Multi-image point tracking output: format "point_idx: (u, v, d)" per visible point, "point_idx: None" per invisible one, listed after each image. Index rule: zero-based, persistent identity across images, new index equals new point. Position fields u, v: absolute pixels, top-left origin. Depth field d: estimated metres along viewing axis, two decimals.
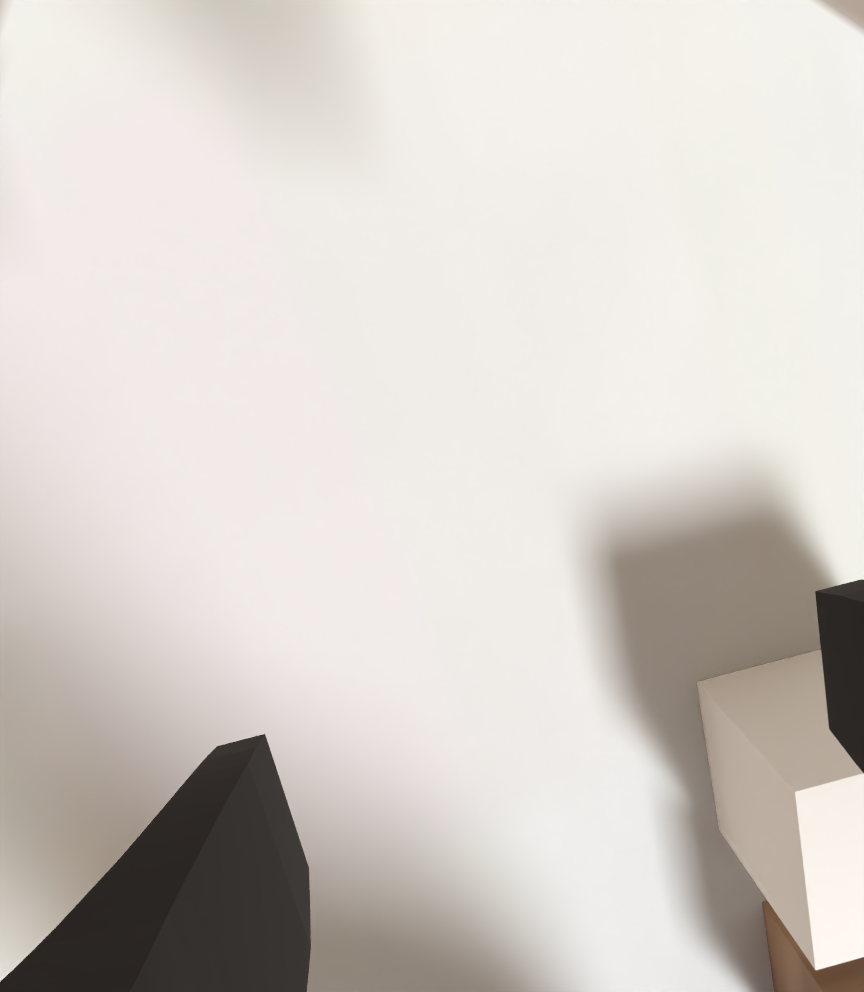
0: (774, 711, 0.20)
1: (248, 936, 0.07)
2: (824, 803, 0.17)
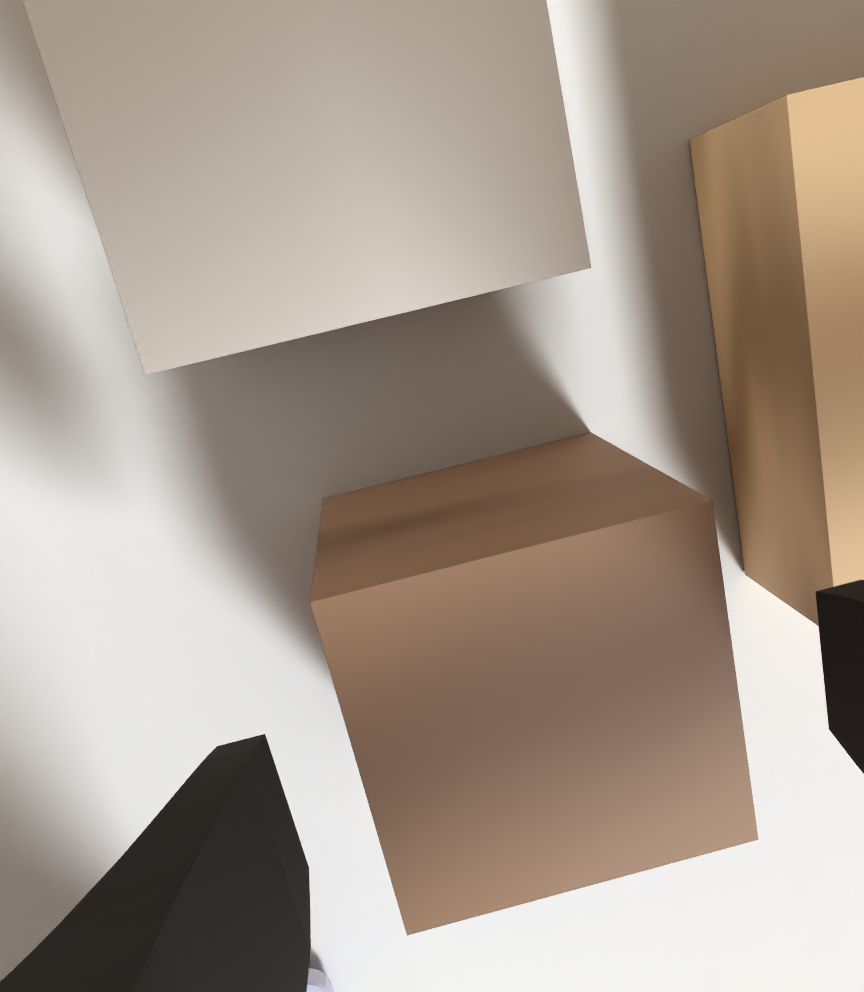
0: None
1: (248, 936, 0.07)
2: None
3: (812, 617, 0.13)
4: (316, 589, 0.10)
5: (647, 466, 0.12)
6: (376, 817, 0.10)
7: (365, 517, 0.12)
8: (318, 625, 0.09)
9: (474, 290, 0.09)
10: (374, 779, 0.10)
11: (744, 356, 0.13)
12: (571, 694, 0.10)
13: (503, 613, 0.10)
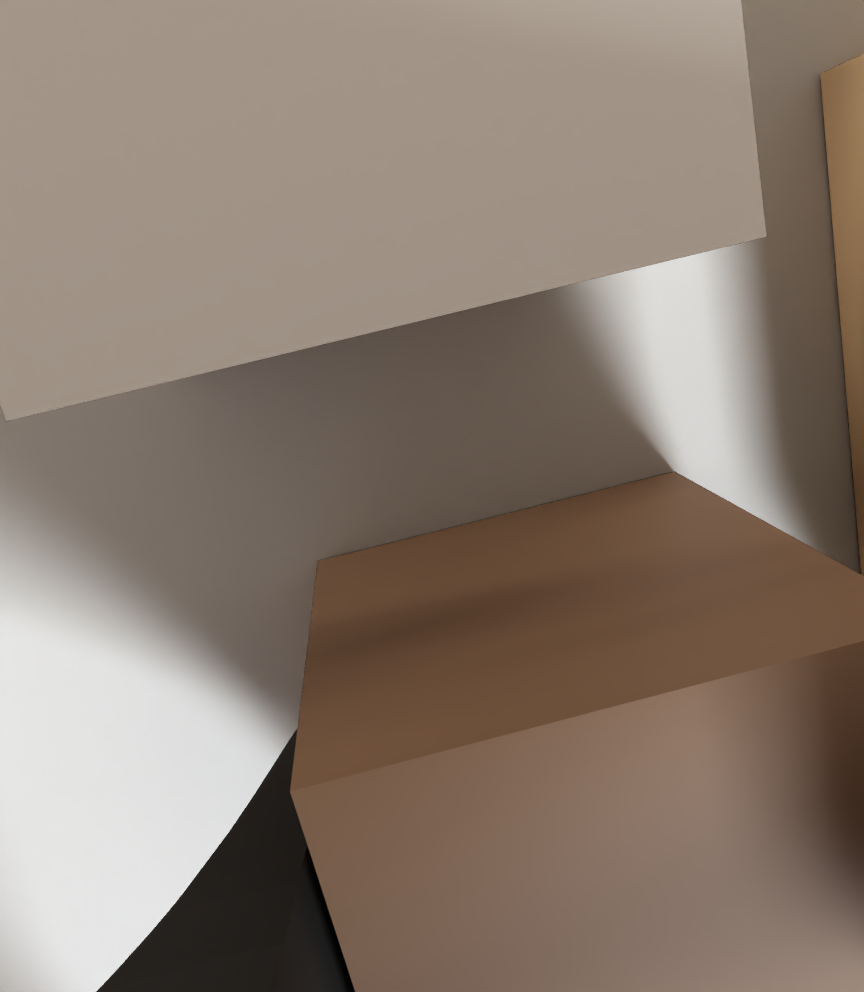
0: None
1: None
2: None
3: None
4: (302, 757, 0.06)
5: (788, 537, 0.08)
6: None
7: (375, 604, 0.09)
8: (304, 826, 0.06)
9: (570, 275, 0.05)
10: None
11: None
12: (702, 915, 0.06)
13: (603, 800, 0.06)
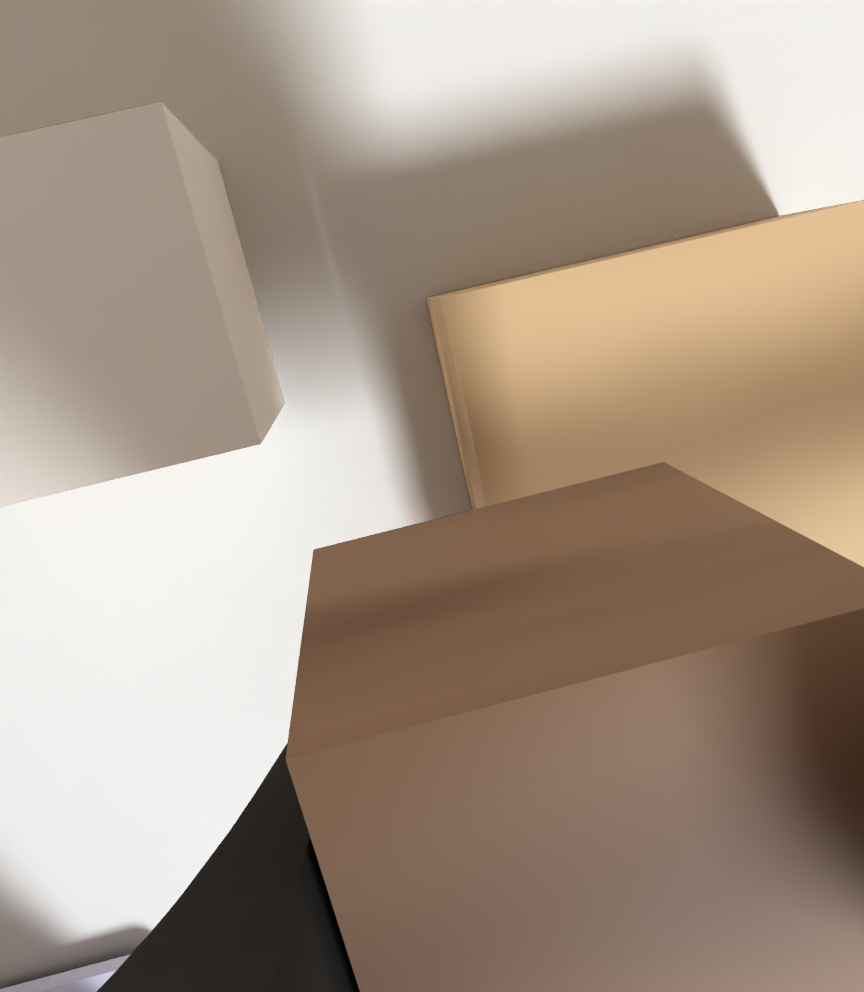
0: None
1: None
2: None
3: None
4: (296, 729, 0.06)
5: (771, 520, 0.08)
6: None
7: (369, 589, 0.09)
8: (299, 794, 0.06)
9: (176, 460, 0.12)
10: None
11: (467, 468, 0.17)
12: (686, 883, 0.06)
13: (588, 768, 0.06)
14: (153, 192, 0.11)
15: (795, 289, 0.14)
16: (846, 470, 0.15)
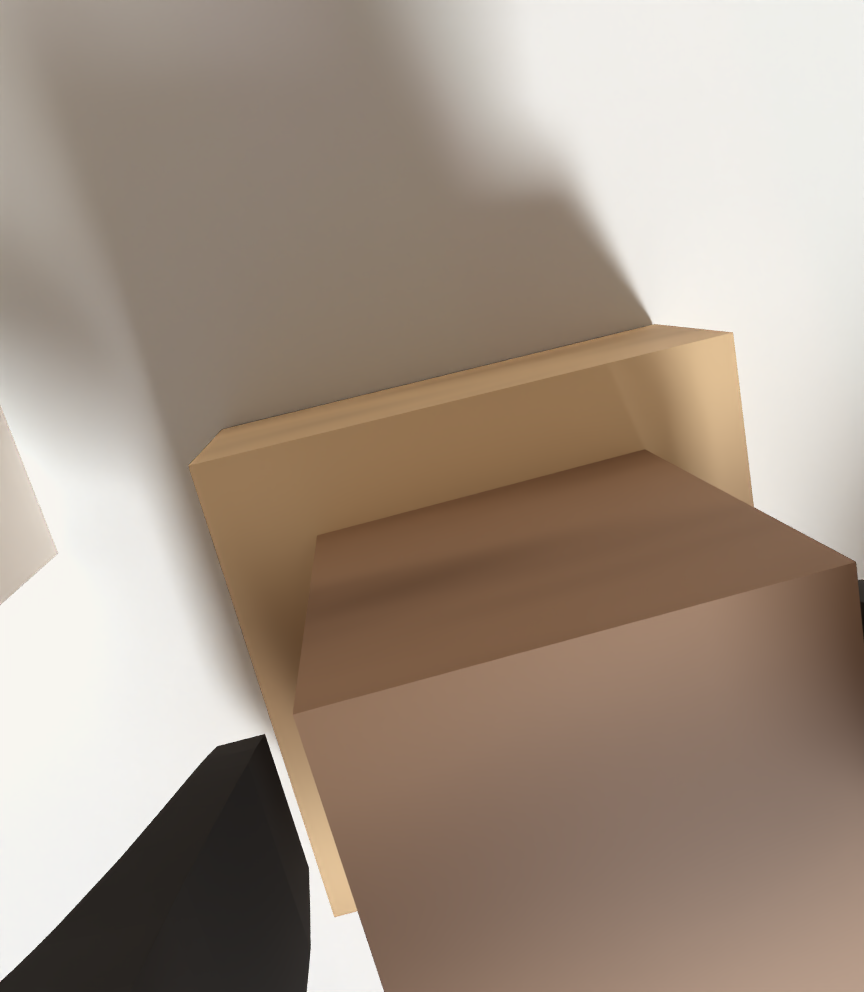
0: None
1: (248, 935, 0.07)
2: None
3: None
4: (302, 689, 0.07)
5: (737, 501, 0.09)
6: None
7: (369, 568, 0.09)
8: (305, 745, 0.07)
9: None
10: (386, 945, 0.07)
11: None
12: (654, 825, 0.07)
13: (564, 722, 0.07)
14: None
15: (642, 442, 0.12)
16: None
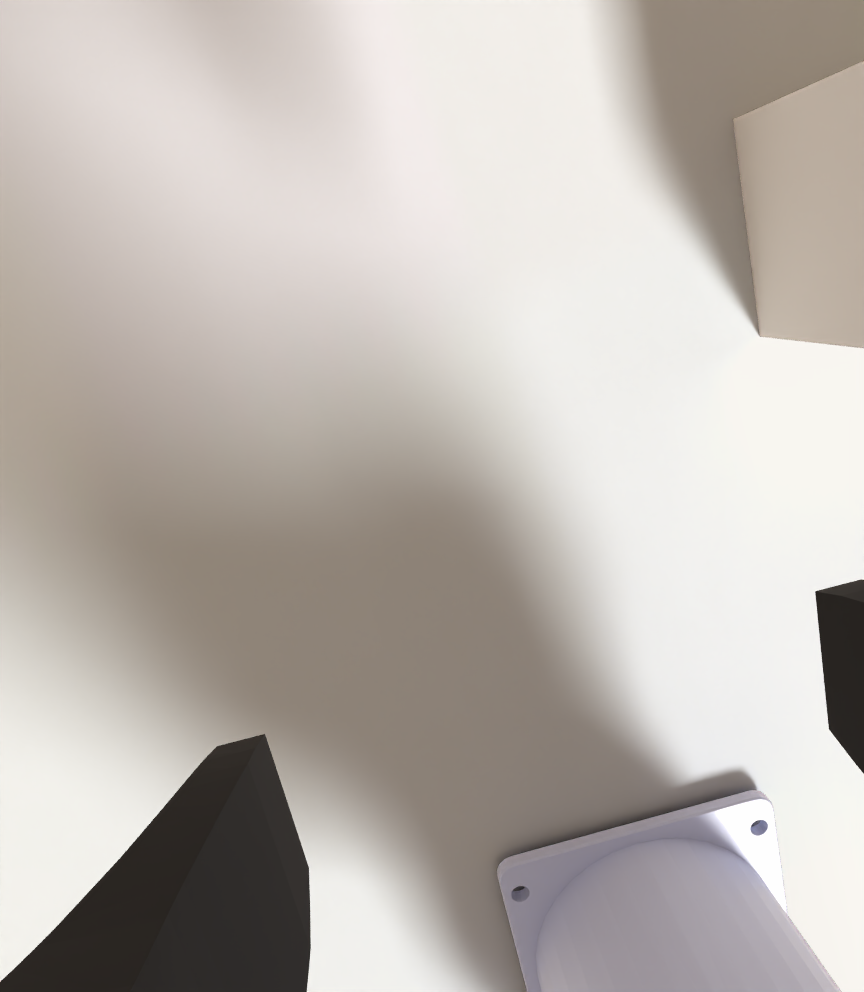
0: None
1: (248, 935, 0.07)
2: None
3: None
4: None
5: None
6: None
7: None
8: None
9: None
10: None
11: None
12: None
13: None
14: None
15: None
16: None
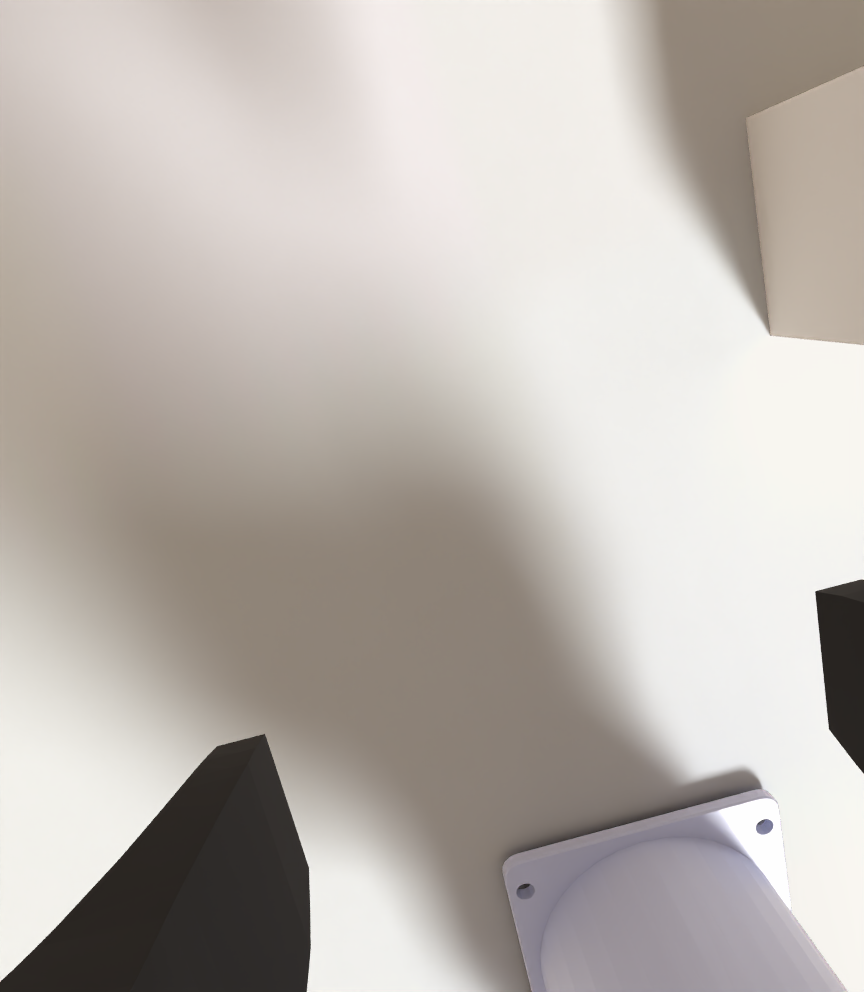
0: None
1: (248, 935, 0.07)
2: None
3: None
4: None
5: None
6: None
7: None
8: None
9: None
10: None
11: None
12: None
13: None
14: None
15: None
16: None
